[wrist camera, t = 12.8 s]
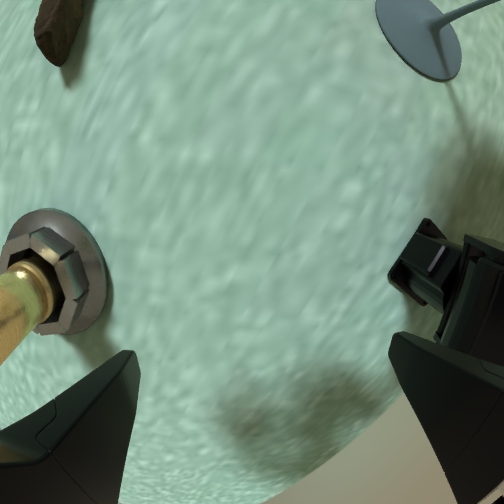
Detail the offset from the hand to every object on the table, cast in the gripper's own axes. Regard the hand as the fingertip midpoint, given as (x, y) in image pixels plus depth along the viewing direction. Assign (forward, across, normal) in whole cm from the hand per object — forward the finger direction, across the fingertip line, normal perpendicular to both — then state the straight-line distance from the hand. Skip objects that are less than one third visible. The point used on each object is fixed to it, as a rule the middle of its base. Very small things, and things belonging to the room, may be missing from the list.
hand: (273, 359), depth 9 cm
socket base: (+13, +16, +2) cm, 21 cm away
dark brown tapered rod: (+13, +14, -25) cm, 32 cm away
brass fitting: (+12, +16, +2) cm, 20 cm away
